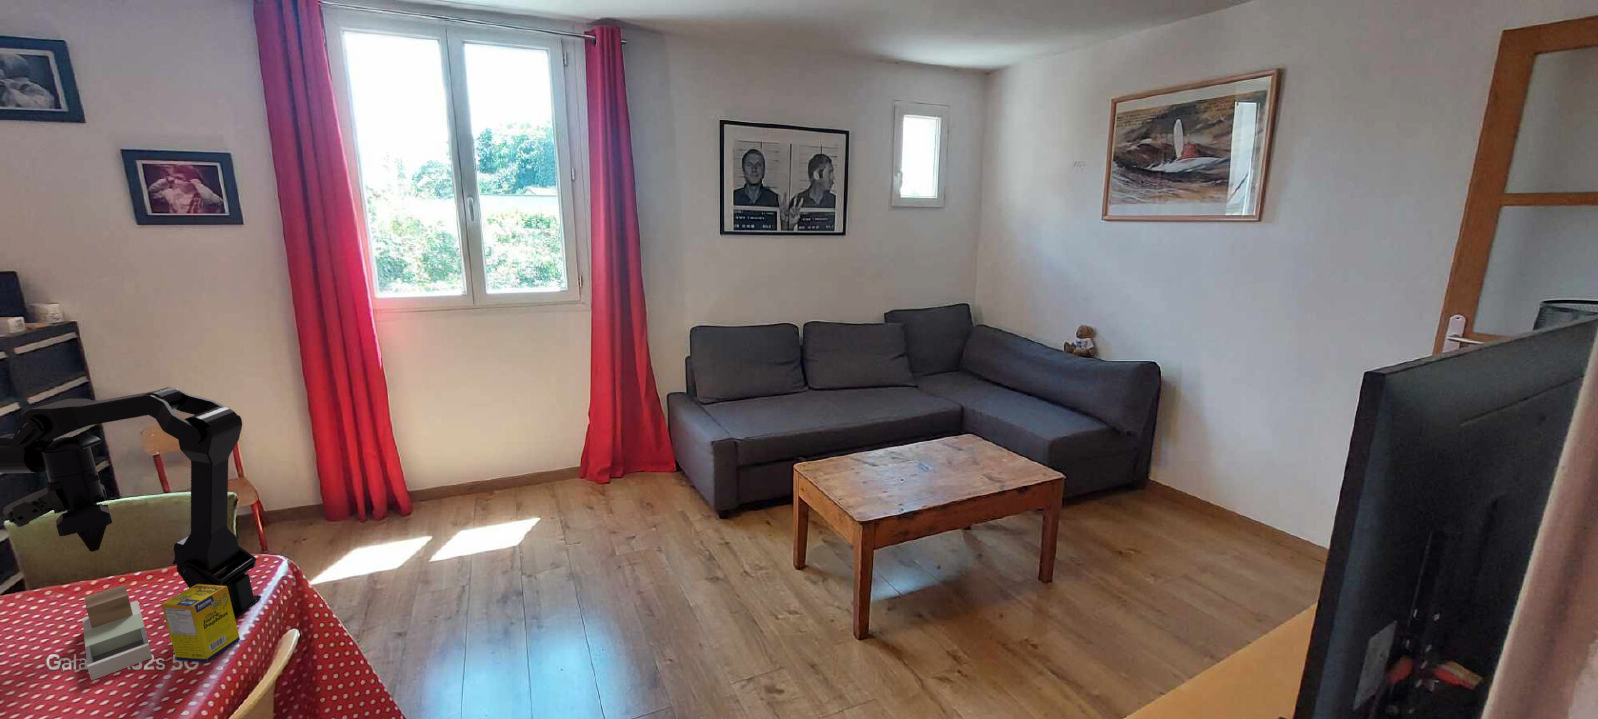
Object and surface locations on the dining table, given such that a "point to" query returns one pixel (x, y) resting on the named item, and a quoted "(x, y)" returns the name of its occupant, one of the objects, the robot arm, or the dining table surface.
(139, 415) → the robot arm
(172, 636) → the supplement box
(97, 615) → the walnut block
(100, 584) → the dining table surface
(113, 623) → the pad
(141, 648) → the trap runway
